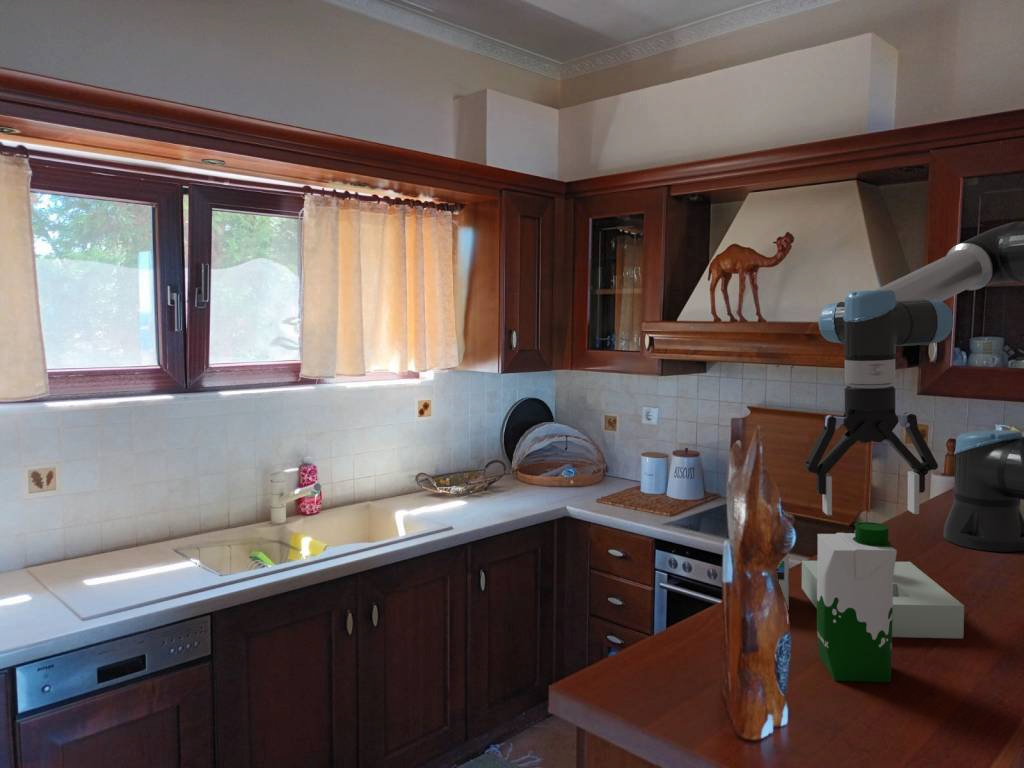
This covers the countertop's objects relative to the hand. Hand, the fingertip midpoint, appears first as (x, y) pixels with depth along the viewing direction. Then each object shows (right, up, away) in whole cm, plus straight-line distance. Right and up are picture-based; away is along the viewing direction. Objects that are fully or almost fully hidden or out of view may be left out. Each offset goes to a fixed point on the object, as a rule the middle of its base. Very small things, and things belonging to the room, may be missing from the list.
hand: (869, 512), depth 126 cm
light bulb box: (-17, -16, +2) cm, 23 cm away
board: (0, -16, -3) cm, 16 cm away
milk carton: (-13, -18, -22) cm, 31 cm away
